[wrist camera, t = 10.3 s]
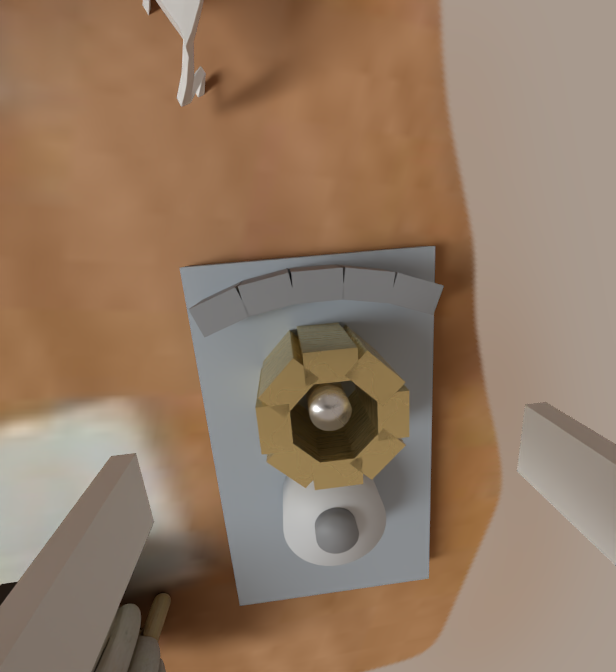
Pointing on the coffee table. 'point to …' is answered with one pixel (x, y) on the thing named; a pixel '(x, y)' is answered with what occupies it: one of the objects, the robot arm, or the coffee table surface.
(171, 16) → the origami figure
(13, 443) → the coffee table surface
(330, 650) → the coffee table surface
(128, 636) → the toy sheep
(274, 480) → the carrier plate
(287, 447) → the gold octagonal ring
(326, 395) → the pin
